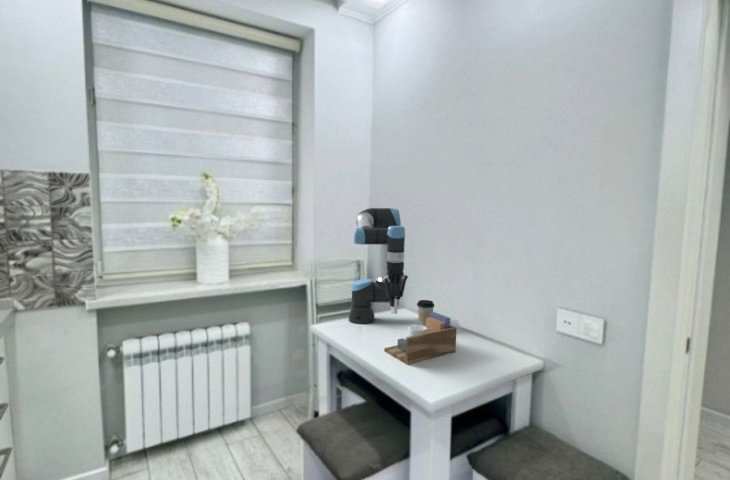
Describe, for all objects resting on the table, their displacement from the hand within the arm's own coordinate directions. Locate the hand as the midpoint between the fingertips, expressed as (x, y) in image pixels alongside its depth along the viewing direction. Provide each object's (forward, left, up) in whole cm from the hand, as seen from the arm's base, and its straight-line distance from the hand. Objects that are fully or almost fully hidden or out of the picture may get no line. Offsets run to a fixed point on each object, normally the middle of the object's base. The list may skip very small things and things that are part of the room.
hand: (394, 313), depth 174 cm
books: (+4, +22, -17) cm, 28 cm away
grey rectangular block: (+3, +5, -17) cm, 18 cm away
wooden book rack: (+4, +12, -19) cm, 23 cm away
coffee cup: (-20, +36, -19) cm, 45 cm away
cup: (+4, +12, -18) cm, 22 cm away
